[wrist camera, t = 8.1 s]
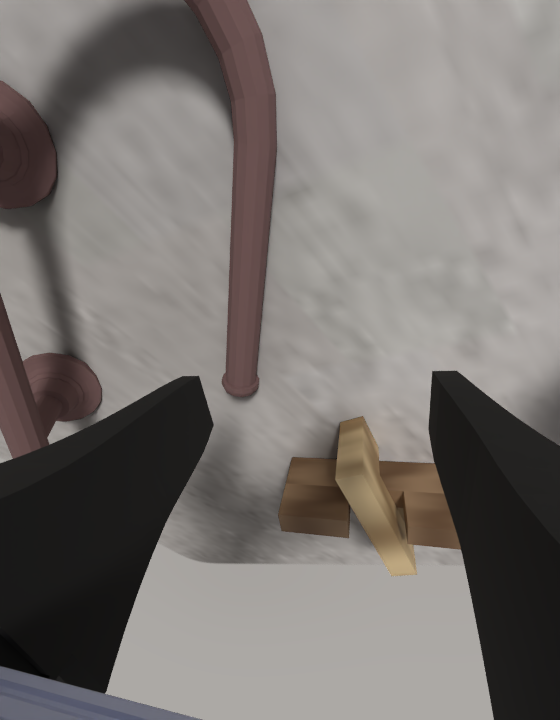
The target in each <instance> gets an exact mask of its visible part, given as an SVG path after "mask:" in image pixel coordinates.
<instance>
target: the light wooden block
mask: <svg viewBox="0 0 560 720" xmlns="http://www.w3.org/2000/svg"><path fill="white" fill-rule="evenodd" d="M335 480H336V482H337V484H338V485H339V487H340V489H341V490H342V492H343V494H344V496H345V497H346V499H347V501H348V502H349V504H350V506H351V508H352V509H353V511H354V513H355V514H356V516H357V518H358V519H359V521H360V523H361V525H362V526H363V528H364V530H365V531H366V533H367V535H368V537H369V538H370V540H371V542H372V543H373V545H374V547H375V548H376V550H377V552H378V554H379V555H380V557H381V559H382V560H383V562H384V564H385V566H386V567H387V569H388V571H389V572H390V574H391V576H402V575H416V574H417V570H416V563H415V555H414V548H413V545H412V544H407V536H406V528H405V519H404V511H403V508H397V507H396V505H395V503H394V502H393V500H392V498H391V496H390V494H389V492H388V490H387V488H386V486H385V484H384V482H383V480H382V478H381V476H380V471H379V452H378V446H377V444H376V442H375V440H374V438H373V436H372V434H371V432H370V430H369V428H368V426H367V423H366V421H365V419H364V417H363V416H362V417H358V418H355V419H351V420H347V421H343V422H340V432H339V443H338V454H337V465H336V476H335Z"/></svg>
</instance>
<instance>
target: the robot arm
mask: <svg viewBox="0 0 560 720" xmlns="http://www.w3.org/2000/svg"><path fill="white" fill-rule="evenodd" d="M213 425H214V424H213V421H212V418H211V415H210V411H209V408H208V405H207V401H206V398H205V395H204V391H203V388H202V385H201V381H200V378H199V376H182V377H180V378H178V379H175V380H173V381H171V382H169V383H168V384H166V385H164V386H162V387H160V388H158V389H157V390H155V391H153V392H151V393H150V394H148V395H146V396H144V397H143V398H141V399H139V400H137V401H136V402H134V403H132V404H130V405H129V406H127V407H125V408H123V409H121V410H120V411H118V412H116V413H114V414H112V415H110V416H108V417H107V418H105V419H103V420H101V421H99V422H97V423H95V424H93V425H92V426H90V427H88V428H85V429H83V430H81V431H79V432H77V433H75V434H73V435H71V436H68V437H66V438H64V439H62V440H59V441H57V442H55V443H53V444H50V445H48V446H45V447H43V448H40V449H37V450H35V451H32V452H30V453H27V454H25V455H22V456H19V457H17V458H14V459H12V460H9V461H6V462H3V463H0V720H201V719H197V718H194V717H190V716H186V715H182V714H179V713H175V712H171V711H167V710H164V709H160V708H156V707H152V706H149V705H145V704H141V703H137V702H133V701H130V700H126V699H122V698H118V697H115V696H111V695H107V694H105V692H106V691H107V687H108V684H109V680H110V677H111V673H112V670H113V666H114V663H115V660H116V657H117V653H118V651H119V647H120V644H121V641H122V638H123V634H124V631H125V628H126V625H127V622H128V619H129V616H130V614H131V611H132V608H133V605H134V602H135V599H136V596H137V594H138V591H139V588H140V585H141V583H142V580H143V577H144V575H145V572H146V570H147V567H148V565H149V562H150V559H151V557H152V554H153V552H154V549H155V547H156V545H157V542H158V540H159V538H160V535H161V533H162V530H163V528H164V526H165V523H166V521H167V519H168V517H169V515H170V513H171V511H172V509H173V507H174V506H175V504H176V502H177V500H178V498H179V496H180V495H181V493H182V491H183V489H184V487H185V486H186V484H187V482H188V480H189V478H190V476H191V475H192V473H193V471H194V469H195V467H196V465H197V463H198V462H199V460H200V458H201V456H202V454H203V452H204V450H205V447H206V445H207V442H208V440H209V437H210V434H211V431H212V428H213ZM429 435H430V441H431V447H432V452H433V458H434V462H435V465H436V469H437V472H438V475H439V478H440V482H441V485H442V488H443V491H444V495H445V498H446V501H447V504H448V507H449V510H450V514H451V517H452V520H453V523H454V526H455V530H456V533H457V536H458V540H459V543H460V547H461V551H462V555H463V559H464V564H465V569H466V573H467V579H468V583H469V588H470V593H471V598H472V603H473V608H474V613H475V618H476V624H477V629H478V634H479V639H480V644H481V650H482V655H483V660H484V666H485V672H486V677H487V683H488V687H489V694H490V699H491V705H492V711H493V717H494V720H560V446H559V445H557V444H555V443H554V442H552V441H551V440H549V439H547V438H546V437H544V436H543V435H541V434H540V433H538V432H537V431H535V430H534V429H532V428H531V427H529V426H528V425H526V424H525V423H524V422H522V421H521V420H519V419H518V418H516V417H515V416H514V415H512V414H511V413H510V412H508V411H507V410H505V409H504V408H503V407H501V406H500V405H499V404H498V403H496V402H495V401H494V400H492V399H491V398H490V397H489V396H487V395H486V394H485V393H484V392H482V391H481V390H480V389H479V388H477V387H476V386H475V385H474V384H472V383H471V382H470V381H469V380H468V379H466V378H465V377H464V376H463V375H461V374H460V373H459V372H457V371H432V385H431V400H430V415H429Z"/></svg>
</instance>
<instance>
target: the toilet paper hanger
mask: <svg viewBox="0 0 560 720" xmlns="http://www.w3.org/2000/svg"><path fill="white" fill-rule="evenodd" d="M184 1H185V2H186V3H187V4H188V6H189V7H190V8H191V9H192V11H193V12H194V13H195V14H196V16H197V18H198V20H199V22H200V24H201V26H202V28H203V30H204V32H205V34H206V35H207V37H208V39H209V41H210V43H211V45H212V47H213V49H214V51H215V53H216V55H217V57H218V59H219V62H220V66H221V69H222V72H223V76H224V79H225V83H226V86H227V90H228V93H229V97H230V100H231V108H232V121H233V135H234V159H233V187H232V215H231V242H230V270H229V298H228V325H227V353H226V373H225V374H224V375H223V378H222V385H223V387H224V389H225V390H226V392H227V393H229V394H231V395H233V396H238V397H245V396H249V395H251V394H253V393H254V392H255V391H256V390H257V389H258V385H259V378H258V376H257V375H256V371H257V360H258V349H259V338H260V327H261V316H262V305H263V294H264V283H265V272H266V261H267V251H268V240H269V229H270V218H271V207H272V196H273V185H274V174H275V163H276V152H277V131H276V93H275V89H274V84H273V80H272V76H271V71H270V67H269V62H268V58H267V53H266V49H265V44H264V40H263V36H262V33H261V31H260V28H259V26H258V24H257V22H256V19H255V17H254V15H253V13H252V10H251V8H250V6H249V4H248V1H247V0H184ZM56 178H57V153H56V150H55V147H54V144H53V141H52V139H51V136H50V133H49V130H48V127H47V125H46V124H45V122H44V121H43V120H42V118H41V117H40V115H39V114H38V112H37V111H36V109H35V108H34V106H33V105H32V104H31V103H30V101H28V100H27V99H26V98H24V97H23V96H22V95H20V94H19V93H18V92H17V91H15V90H14V89H13V88H11V87H10V86H9V85H7V84H6V83H5V82H3V81H0V207H1V208H5V209H11V208H20V207H29V206H32V205H34V204H36V203H37V202H39V201H40V200H42V199H43V198H45V197H46V196H48V195H49V194H50V192H51V190H52V188H53V185H54V183H55V181H56ZM101 395H102V388H101V385H100V383H99V381H98V378H97V376H96V374H95V373H94V372H93V371H92V370H91V369H90V367H89V366H88V365H87V364H86V363H85V362H82V361H80V360H78V359H76V358H74V357H71V356H69V355H63V354H56V353H45V354H39V355H33V356H31V357H29V358H28V359H26V360H24V361H23V362H22V359H21V356H20V352H19V349H18V346H17V343H16V340H15V337H14V334H13V331H12V328H11V325H10V322H9V319H8V315H7V312H6V309H5V306H4V303H3V300H2V297H1V294H0V428H1V431H2V433H3V436H4V438H5V441H6V443H7V445H8V448H9V450H10V453H11V455H12V458H13V459H14V458H17V457H19V456H22V455H25V454H27V453H30V452H32V451H35V450H37V449H40V448H43V447H45V446H48V445H49V442H48V439H47V437H48V435H49V433H50V431H51V429H52V427H53V426H54V424H55V422H56V421H65V422H66V421H71V420H77V419H82V418H83V417H85V416H87V415H89V414H90V413H92V412H94V410H95V409H96V407H97V406H98V405H99V403H100V402H101Z"/></svg>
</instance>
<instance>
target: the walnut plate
mask: <svg viewBox="0 0 560 720" xmlns="http://www.w3.org/2000/svg"><path fill="white" fill-rule="evenodd" d="M336 465H337V459H320V458H297V457H292V461H291V465H290V469H289V473H288V477H287V481H286V485H285V489H284V493H283V497H282V501H281V505H280V509H279V513H278V517H279V521H280V526H281V530H282V531H285V532H295V533H304V534H314V535H324V536H334V537H344V538H349V526H350V504H349V502H348V501H347V499H346V497H345V496H344V494H343V492H342V490H341V489H340V487H339V485H338V484H337V482H336V480H335V476H336ZM379 471H380V476H381V478H382V480H383V482H384V484H385V486H386V488H387V490H388V492H389V494H390V496H391V498H392V500H393V502H394V503H395V505H396V507H397V508H403V511H404V519H405V528H406V536H407V544H412V545H422V546H432V547H442V548H451V549H461V547H460V543H459V540H458V536H457V533H456V530H455V526H454V523H453V520H452V517H451V514H450V510H449V507H448V504H447V501H446V498H445V495H444V491H443V488H442V485H441V482H440V478H439V475H438V472H437V469H436V465H435V464H434V463H411V462H388V461H379Z"/></svg>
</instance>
